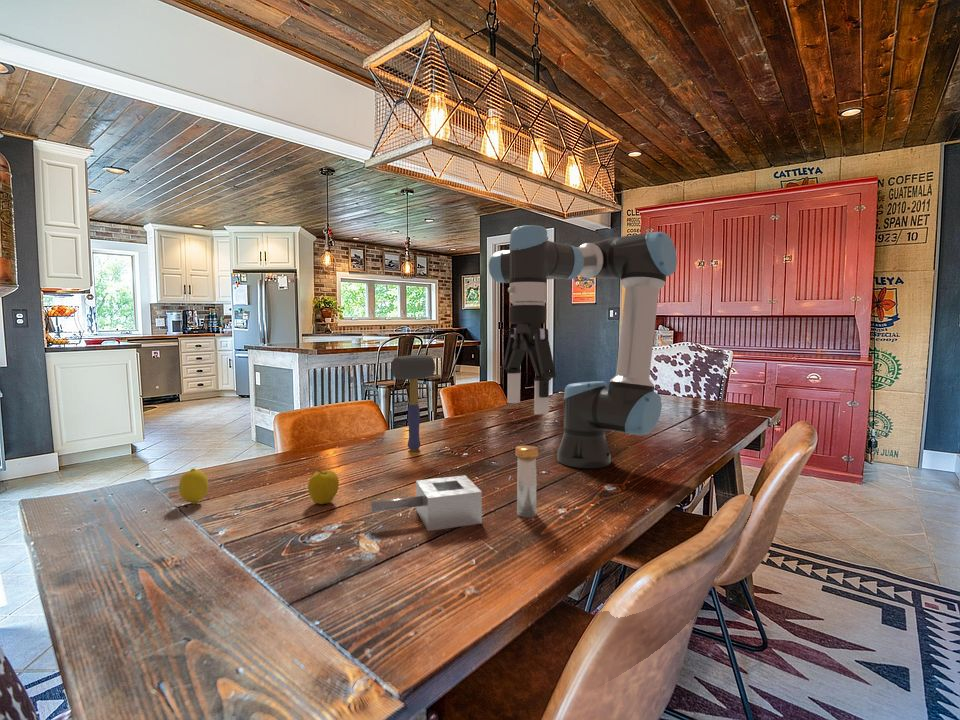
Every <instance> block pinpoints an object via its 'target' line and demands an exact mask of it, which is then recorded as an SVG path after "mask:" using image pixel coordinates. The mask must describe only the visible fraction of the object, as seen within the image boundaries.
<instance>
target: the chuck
mask: <svg viewBox="0 0 960 720" xmlns="http://www.w3.org/2000/svg"><path fill="white" fill-rule="evenodd" d="M410 508H411V509H412V508H416V509H415V511H416V513H417V514H418V516H419V517H420V520H421V522H422V524H423V525H424V527H425V528H426V530H427V531H428V532H430V531H438V530H447V529H451V528H452V529H453V528H459V527H466V526H474V525H479V524H483V523H482V522H483V492H482V490H481V489H480V488H479V487H478V486H476V484H475V483H474V482H473V481H472V480H471V479H470V478H468V476H467V475H455V476H447V477H446V476H444V477H437V478H427V479H418V480H415V496H409V497H401V498H393V499H384V500H376V501H371V502H370V511H371V513H377V512H378V513H379V512H386V511H394V510H401V509H403V510H404V509H410Z"/></svg>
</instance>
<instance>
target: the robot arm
mask: <svg viewBox="0 0 960 720" xmlns="http://www.w3.org/2000/svg"><path fill="white" fill-rule="evenodd" d="M509 237H510V238H509V246H508V247H509V248H508V249H503V250H500V251H496V252H494V253H493V254H492V255H491V257H490V259H489V261H488V269H489V270H488V271H489V274H490V276H491V279H493V280H494V281H495V282H497V283H499V284H500V283H501V284H502V283H503V284H504V283H505V284H509V287H508V288H507V292H508V293H509V302H510V304H512V305H510V307H508V308H509V309H508V310H509V311H508V318H509V319H508V322H509V323H510V324H511V325H516V326H515V327H509V330H508V339H507V344H506V350H505V354H504V359H503V365H502V368H503V370H506V373H507V391H506V393H507V397H506V398H507V400H506V402H507V403H508V404H518V403H521V373H522V370H521V366H522V362H523V360H524V358H525V355H526V353H527V354H528V355H529V358H530V362H531V364H532V367H533V371H534V374H535V377H534V378H533V382H534V387H533V388H534V389H533V390H534V399H533V402H534V403H533V413H534V415H547V414H548V415H549V410H550V409H549V403H550V401H549V399H550V398H549V397H550V381H551V379H555V378H556V375H557V374H556V370H555V369H556V368H555V364H554V360H553V356H552V350H551V346H550V341H549V330H548V328H540V325H545V324H546V323H547V307H546V305H544V304H546V303H547V298H548V297H547V294H548V289H547V288H548V285H547V284H548V283H547V280H561V281H565V280H573V279H575V278H577V277H578V276H580V277H582V278H585V279H591V278H592V279H593V278H597V279H613V280H616V279H617V280H619V279H620V284H621V285H622V286H623V287H624V288H625V291H624V299H623V307H622V308H623V309H622V317H621V318H622V319H621V326H620V334H619V335H620V337H619V345H618V354H617V362H616V373H615V375H614V377H612V378H611V379H610V380H609V382H608V383H609V385H608V384H607V383H606V381H602V380H600V381H599V380H598V381H597V380H595V381H593V380H592V381H583V382H574V383H568V384H567V385H566V386H565V387H564V395H563V435H562V438H561V441H560V443H559V447H558V450H557V453H556V454H557V455H556V456H557V459H556V460H557V462H558V463H560V464H562V465H564V466H567V467H570V468H571V467H572V468H578V469H601V468H605V467H608V466H610V465H611V463H612V460H611V459H612V457H611V456H612V455H611V452H610V449H609V446H608V442H607V438H606V431H611V432H612V431H613V432H618V433H622V434H627V435H629V436H631V435H636V436H645V435H649V434H650V433H651V432H652V431H653V430H654V428H655V427H656V426H657V425H658V422H659V420H660V418H661V413H662V406H663V405H662V399H661V396H660V394H658V393H657V392H656V391H655V384H654V383H653V381H651V379H650V377H651V376H650V374H651V367H652V365H651V364H652V357H653V348H654V338H655V330H656V329H655V327H656V318H657V309H658V301H659V292H660V291H661V289H662V288H663V287H665V286H666V281H667V277H670V276H672V275H673V274H674V273H675V271H676V270H677V266H678V265H677V263H678V260H677V259H678V257H677V251H676V247H675V244H674V242H673V239H672V238H671V236H669V234H667V233H666V232H663V231H654V232H652V231H647V232H646V233H637V234H636V233H635V234H631V235H624V236H623V235H622V236H614V237H610V238H606V239H603V240H599V241H595V242H594V241H593V242H585V243H582V244H581V245H580V246H574V245H571V244H570V243H561V242H556V241H555V242H554V241H551V240H549V237H548V230H547V229H546V227H544V226H541V225H535V224H532V225H531V224H530V225H528V224H527V225H521V226H516V227H514V228H513V229H512V230H511V231H510V236H509Z"/></svg>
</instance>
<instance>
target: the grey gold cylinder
mask: <svg viewBox="0 0 960 720" xmlns="http://www.w3.org/2000/svg"><path fill="white" fill-rule="evenodd" d="M539 451H540V449H539V447H537V446H534V445H518V446H516V447H515V456H516V457H517V458H516V459H517V461H516V463H517V464H516V465H517V466H516V467H517V470H516V471H517V472H516V473H517V474H516V475H517V477H516V479H517V480H516V481H517V483H516V491H517V492H516V514H517V516H518V517H521V518H525V519H526V518H528V519H529V518H530V519H531V518H535V517H536V515H537V476H538V475H537V470H538V469H537V465H538V463H537V462H538V457H540V456H539V455H540V453H539Z"/></svg>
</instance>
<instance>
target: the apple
mask: <svg viewBox="0 0 960 720" xmlns="http://www.w3.org/2000/svg"><path fill="white" fill-rule="evenodd" d="M339 481H340V480H339V477H338V475H337V473H335V472H334V471H332V470H317V472H315V473H314V474H312V476H311V477H310V479H309V480H308V483H307V484H308V485H307V491H308V494H309V496H310V498H311V500H312V502H313V503H315V504H319V505H324V504H330V503H331V502H332V501H333V499H334V498H335V497H336V495H337V493H338V490H339V486H340V484H339V483H340V482H339Z"/></svg>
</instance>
